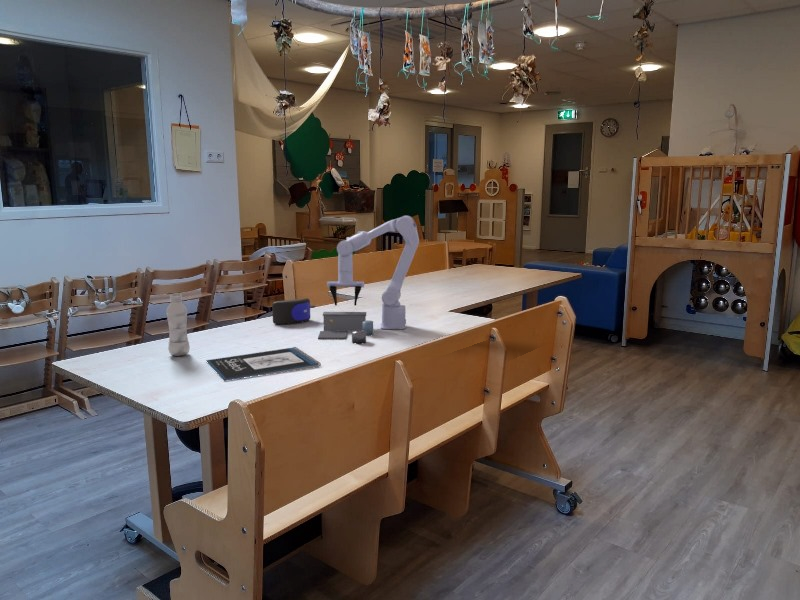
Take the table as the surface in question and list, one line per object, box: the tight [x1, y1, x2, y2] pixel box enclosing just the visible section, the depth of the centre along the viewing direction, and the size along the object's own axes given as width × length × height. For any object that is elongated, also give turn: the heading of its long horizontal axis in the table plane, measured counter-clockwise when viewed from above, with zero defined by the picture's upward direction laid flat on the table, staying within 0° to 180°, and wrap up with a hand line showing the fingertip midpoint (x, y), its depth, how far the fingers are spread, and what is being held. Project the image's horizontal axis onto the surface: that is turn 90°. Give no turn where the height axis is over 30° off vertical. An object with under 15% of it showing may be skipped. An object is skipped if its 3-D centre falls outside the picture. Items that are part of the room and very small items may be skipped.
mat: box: [317, 330, 348, 340], centre depth 225 cm, size 10×10×1 cm
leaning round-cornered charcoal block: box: [271, 298, 311, 326], centre depth 244 cm, size 16×5×9 cm, turn 124°
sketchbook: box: [206, 346, 322, 382], centre depth 189 cm, size 22×30×2 cm
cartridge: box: [363, 320, 374, 337], centre depth 227 cm, size 4×4×5 cm
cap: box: [351, 330, 367, 345], centre depth 216 cm, size 5×5×4 cm
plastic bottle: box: [165, 293, 190, 357], centre depth 196 cm, size 6×7×20 cm
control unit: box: [322, 311, 367, 332], centre depth 234 cm, size 17×5×7 cm, turn 92°
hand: (345, 305), depth 240 cm, fingers open, 7 cm apart
